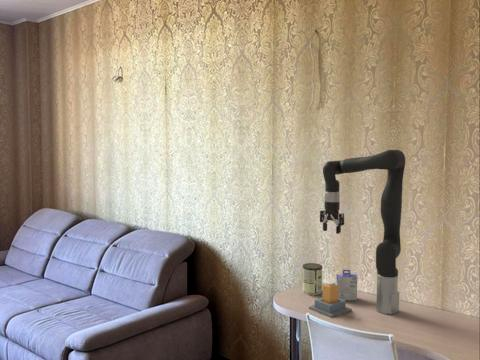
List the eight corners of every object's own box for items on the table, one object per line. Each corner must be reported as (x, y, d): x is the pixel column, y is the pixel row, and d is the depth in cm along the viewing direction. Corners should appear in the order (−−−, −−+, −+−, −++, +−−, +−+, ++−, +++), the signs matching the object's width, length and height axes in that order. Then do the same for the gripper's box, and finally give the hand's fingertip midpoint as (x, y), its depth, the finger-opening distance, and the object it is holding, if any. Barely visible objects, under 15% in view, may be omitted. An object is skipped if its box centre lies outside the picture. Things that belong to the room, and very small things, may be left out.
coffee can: (304, 287, 248) (305, 262, 247) (323, 289, 245) (324, 264, 243) (300, 293, 239) (300, 267, 238) (319, 296, 235) (320, 269, 234)
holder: (351, 310, 215) (351, 301, 215) (331, 317, 207) (331, 308, 206) (328, 302, 226) (328, 293, 226) (308, 308, 218) (309, 299, 217)
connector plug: (338, 307, 216) (338, 282, 215) (329, 310, 213) (329, 285, 212) (330, 304, 220) (331, 280, 219) (322, 307, 216) (322, 282, 215)
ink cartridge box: (355, 296, 234) (355, 269, 233) (357, 300, 228) (358, 272, 227) (335, 296, 234) (336, 269, 233) (337, 300, 229) (338, 272, 227)
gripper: (348, 201, 228) (347, 233, 229) (326, 198, 239) (325, 229, 241) (338, 202, 223) (337, 235, 225) (316, 199, 235) (316, 230, 236)
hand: (331, 232), depth 233 cm, fingers open, 8 cm apart
